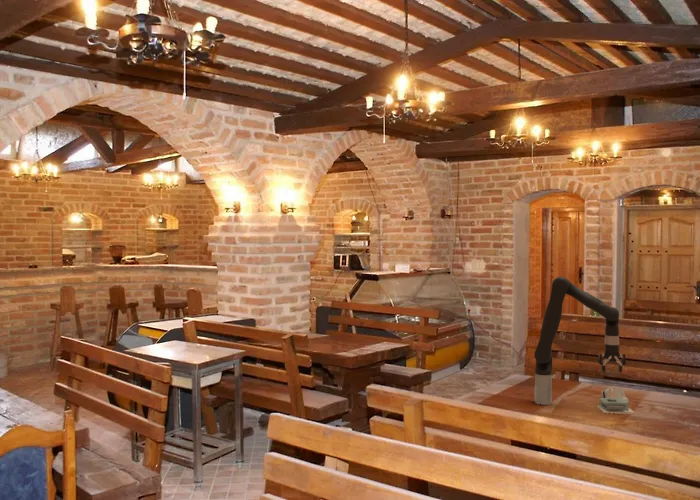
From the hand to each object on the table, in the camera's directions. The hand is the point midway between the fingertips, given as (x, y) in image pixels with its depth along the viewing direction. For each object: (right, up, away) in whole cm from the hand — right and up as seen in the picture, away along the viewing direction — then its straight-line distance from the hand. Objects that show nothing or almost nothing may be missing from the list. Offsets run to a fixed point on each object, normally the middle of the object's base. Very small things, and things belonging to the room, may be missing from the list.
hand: (611, 372), depth 356 cm
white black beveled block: (+8, -21, +16) cm, 28 cm away
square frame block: (+2, -21, -1) cm, 21 cm away
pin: (0, -20, 0) cm, 20 cm away
